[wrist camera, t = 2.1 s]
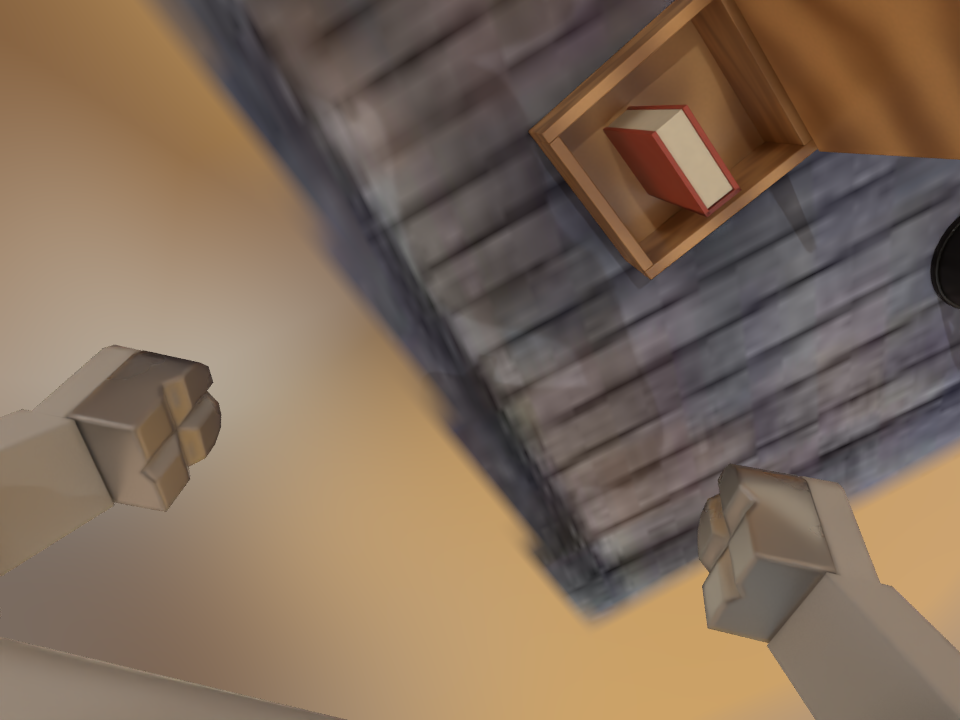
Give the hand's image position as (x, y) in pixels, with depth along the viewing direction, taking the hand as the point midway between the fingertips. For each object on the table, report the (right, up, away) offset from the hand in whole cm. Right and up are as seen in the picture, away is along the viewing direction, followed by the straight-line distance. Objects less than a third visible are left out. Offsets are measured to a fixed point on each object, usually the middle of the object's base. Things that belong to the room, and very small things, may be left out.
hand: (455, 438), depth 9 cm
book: (+12, +16, +34) cm, 40 cm away
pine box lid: (+19, +17, +21) cm, 33 cm away
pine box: (+13, +18, +35) cm, 41 cm away
